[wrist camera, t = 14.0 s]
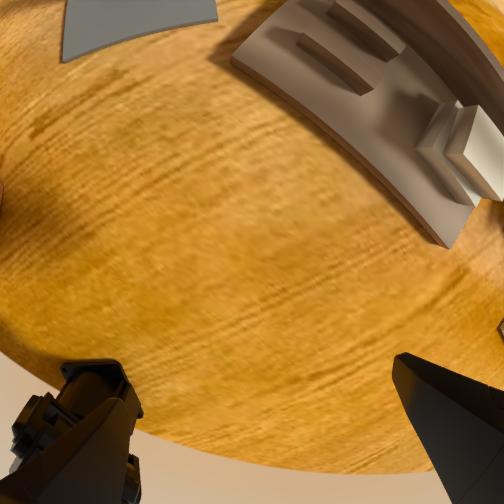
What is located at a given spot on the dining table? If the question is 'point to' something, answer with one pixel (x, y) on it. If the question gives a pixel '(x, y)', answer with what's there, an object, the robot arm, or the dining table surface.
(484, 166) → the offcut stack
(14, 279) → the dining table surface
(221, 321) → the dining table surface
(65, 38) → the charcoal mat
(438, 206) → the grey desk organizer
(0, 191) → the coffee package
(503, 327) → the baseboard molding
